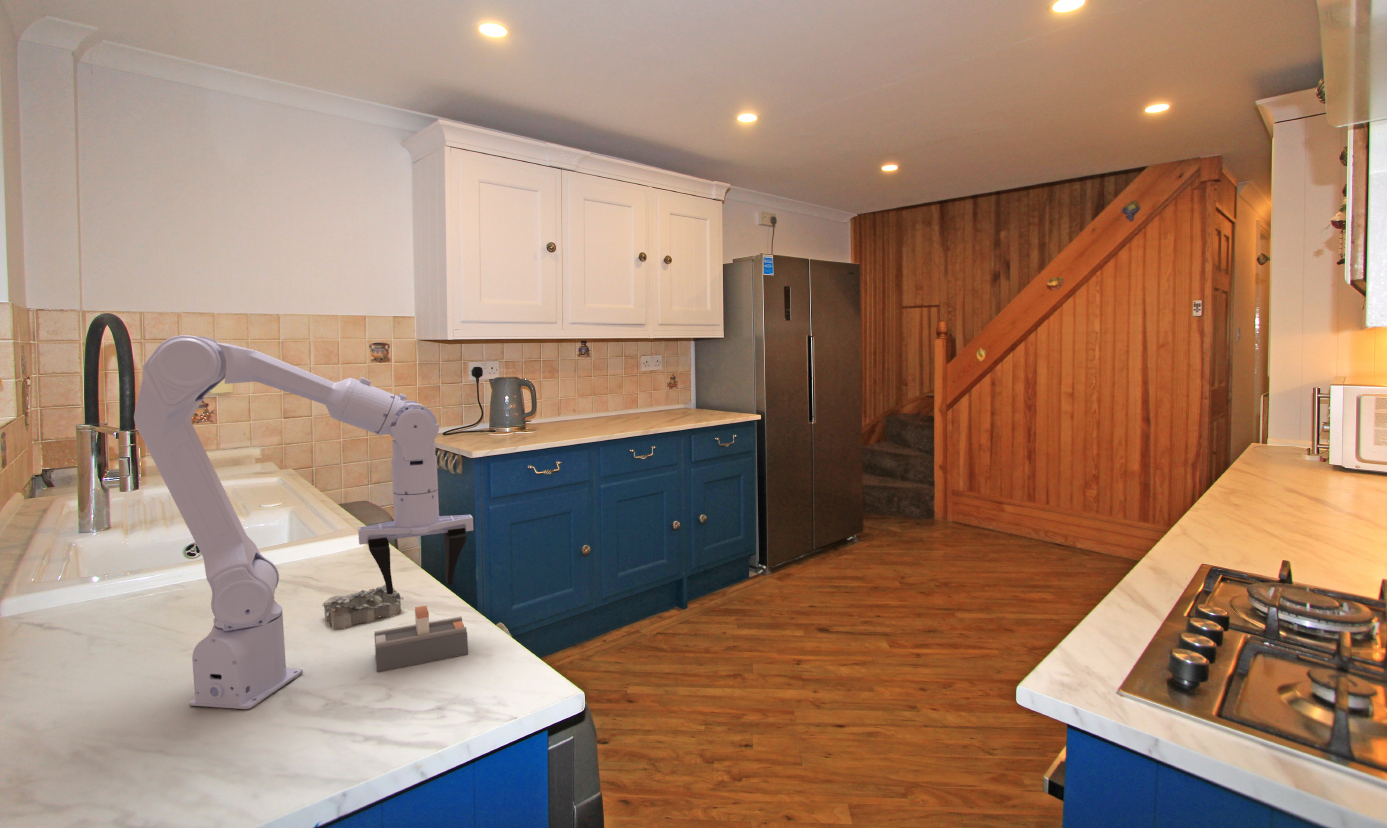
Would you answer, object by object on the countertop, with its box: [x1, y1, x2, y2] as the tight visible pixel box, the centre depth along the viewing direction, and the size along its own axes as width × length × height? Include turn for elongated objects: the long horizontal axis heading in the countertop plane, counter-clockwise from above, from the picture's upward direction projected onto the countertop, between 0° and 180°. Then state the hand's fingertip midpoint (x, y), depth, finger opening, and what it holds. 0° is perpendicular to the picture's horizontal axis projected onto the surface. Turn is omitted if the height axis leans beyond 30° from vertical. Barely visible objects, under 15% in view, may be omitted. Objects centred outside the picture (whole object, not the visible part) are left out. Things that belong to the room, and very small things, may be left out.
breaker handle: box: [414, 605, 430, 635], centre depth 94 cm, size 2×3×3 cm, turn 27°
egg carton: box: [321, 584, 404, 630], centre depth 108 cm, size 11×8×4 cm
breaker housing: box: [373, 616, 469, 673], centre depth 94 cm, size 12×6×4 cm, turn 117°
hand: (420, 587), depth 94 cm, fingers open, 7 cm apart
